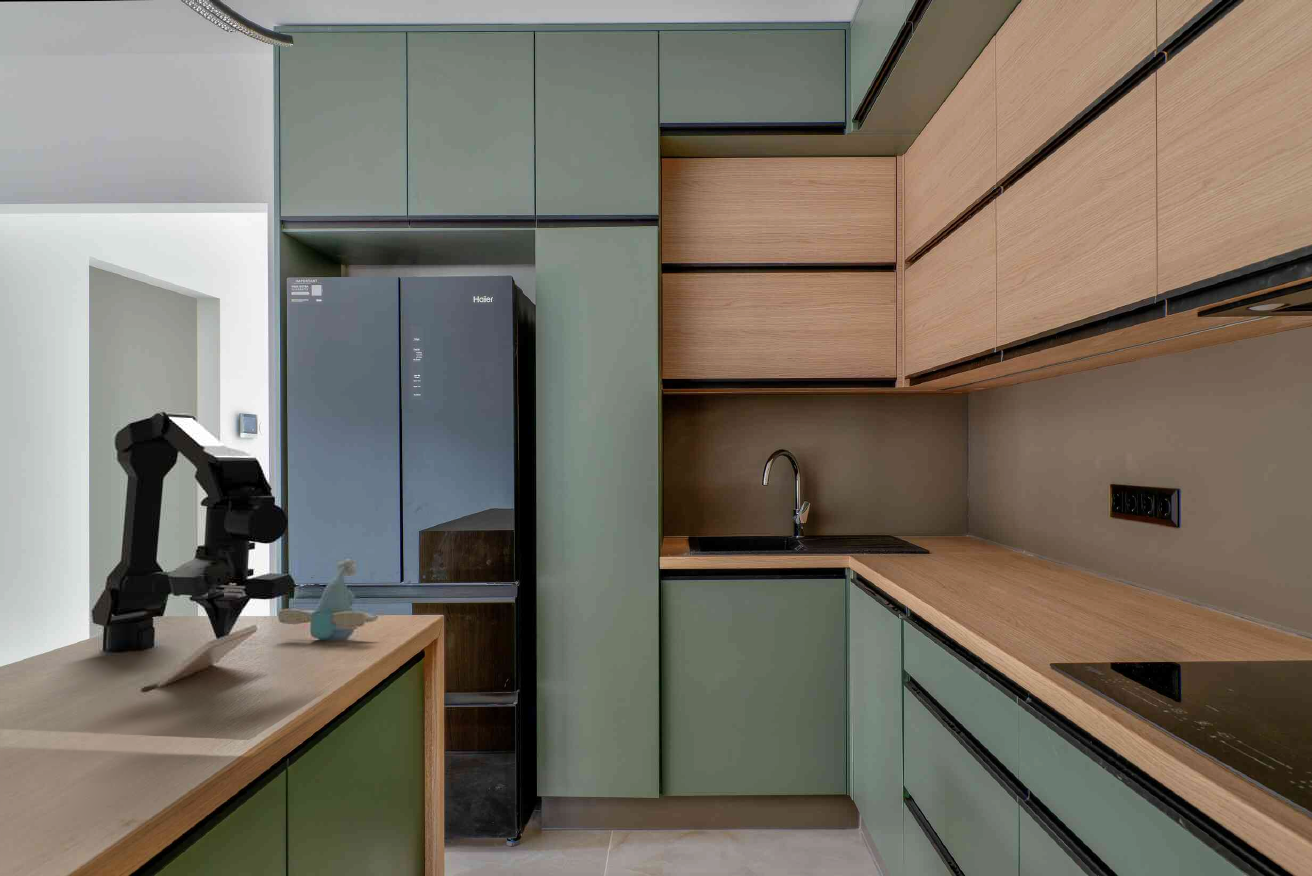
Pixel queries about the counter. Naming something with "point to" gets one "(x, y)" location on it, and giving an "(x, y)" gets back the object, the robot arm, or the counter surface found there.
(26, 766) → the counter surface
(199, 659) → the tile
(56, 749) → the counter surface
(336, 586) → the toy figure
